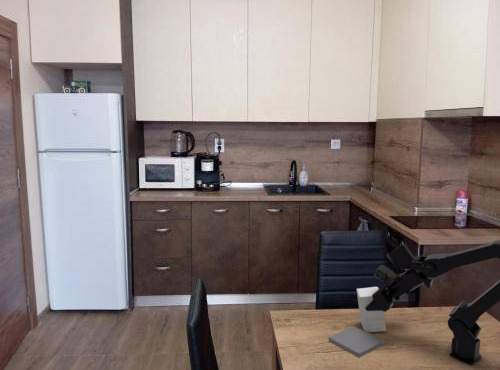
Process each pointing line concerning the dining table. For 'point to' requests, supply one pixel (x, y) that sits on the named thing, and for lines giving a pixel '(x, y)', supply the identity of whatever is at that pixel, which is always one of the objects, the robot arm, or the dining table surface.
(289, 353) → the dining table surface
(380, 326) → the supplement box
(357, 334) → the tile
